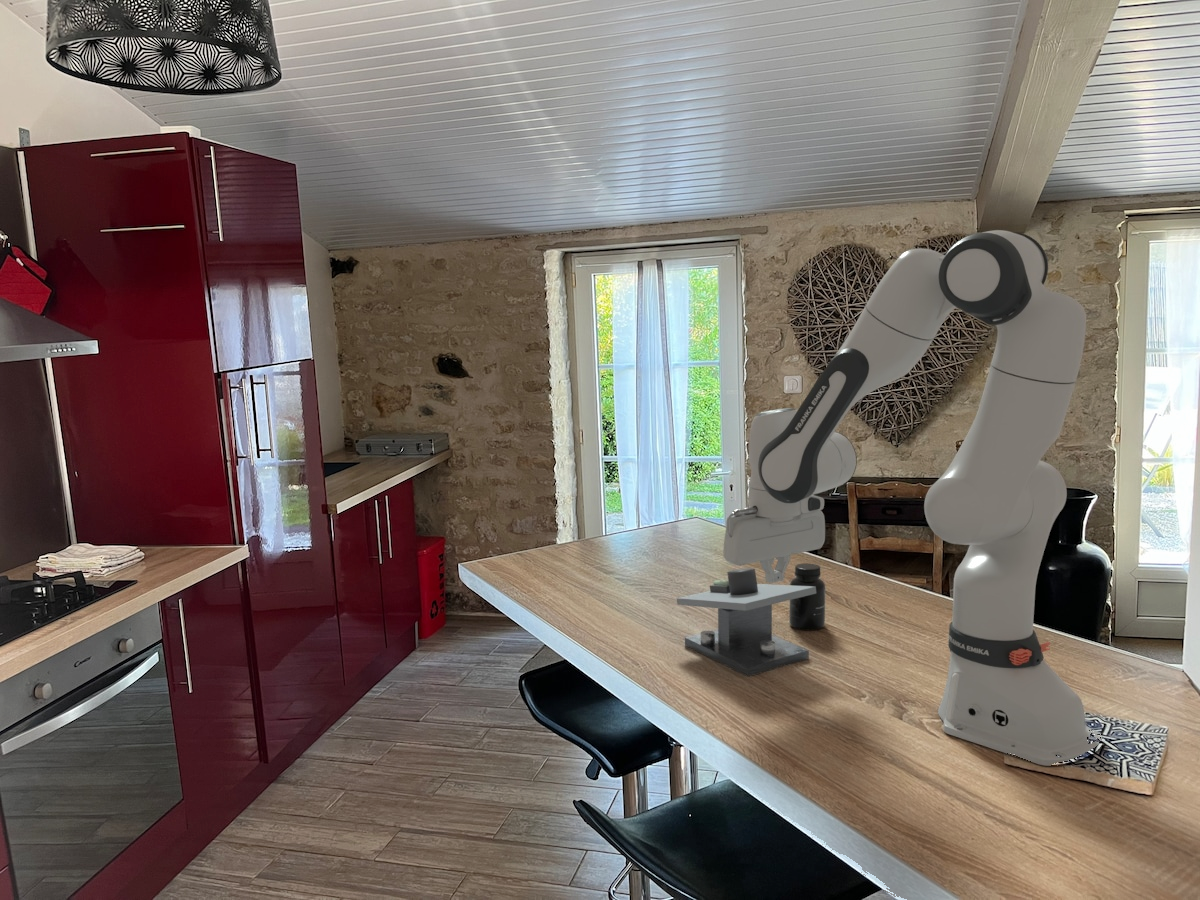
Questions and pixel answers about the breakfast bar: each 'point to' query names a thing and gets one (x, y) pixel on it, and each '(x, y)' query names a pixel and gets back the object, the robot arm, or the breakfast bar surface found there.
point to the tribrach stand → (746, 642)
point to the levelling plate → (744, 593)
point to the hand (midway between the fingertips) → (774, 581)
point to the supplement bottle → (808, 599)
